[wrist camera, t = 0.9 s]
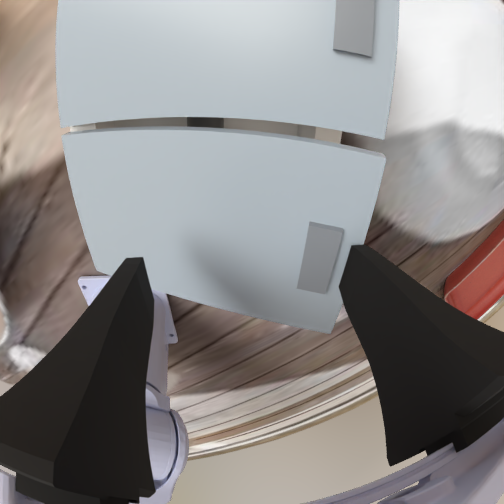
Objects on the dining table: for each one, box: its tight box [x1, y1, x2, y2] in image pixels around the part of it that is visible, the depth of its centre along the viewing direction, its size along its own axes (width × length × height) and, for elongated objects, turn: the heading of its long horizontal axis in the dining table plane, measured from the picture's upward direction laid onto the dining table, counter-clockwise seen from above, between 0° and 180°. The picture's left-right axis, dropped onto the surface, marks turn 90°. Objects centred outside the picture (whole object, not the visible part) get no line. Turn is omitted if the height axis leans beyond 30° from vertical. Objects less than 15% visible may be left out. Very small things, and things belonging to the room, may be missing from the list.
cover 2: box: [62, 126, 386, 334], centre depth 12 cm, size 9×14×1 cm, turn 88°
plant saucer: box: [444, 220, 504, 320], centre depth 30 cm, size 18×18×3 cm
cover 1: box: [56, 0, 399, 140], centre depth 7 cm, size 9×14×1 cm, turn 88°
